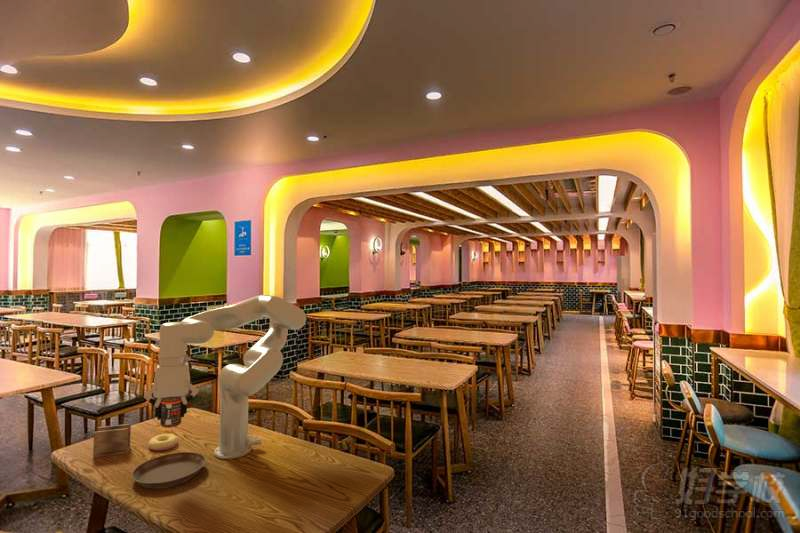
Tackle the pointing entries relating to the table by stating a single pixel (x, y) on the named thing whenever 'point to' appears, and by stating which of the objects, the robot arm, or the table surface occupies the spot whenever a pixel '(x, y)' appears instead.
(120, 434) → the napkin holder
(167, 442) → the donut
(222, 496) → the table surface
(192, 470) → the plant saucer
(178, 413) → the supplement bottle
